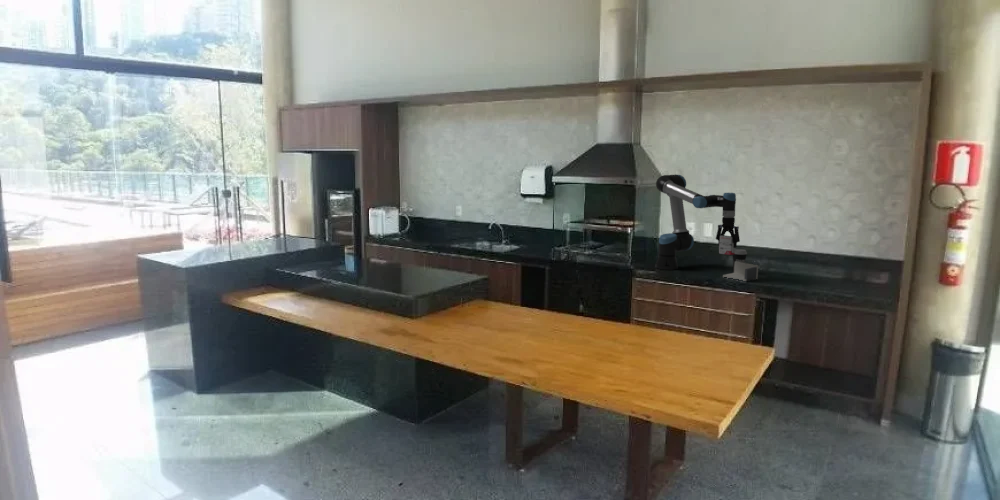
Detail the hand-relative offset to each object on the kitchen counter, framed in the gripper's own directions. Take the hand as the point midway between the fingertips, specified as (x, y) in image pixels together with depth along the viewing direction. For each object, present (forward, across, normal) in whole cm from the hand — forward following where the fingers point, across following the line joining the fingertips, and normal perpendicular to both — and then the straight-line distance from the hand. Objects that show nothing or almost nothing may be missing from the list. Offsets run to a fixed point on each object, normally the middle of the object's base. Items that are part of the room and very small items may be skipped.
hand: (727, 251), depth 375 cm
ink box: (+2, 0, 0) cm, 2 cm away
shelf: (+17, +8, +3) cm, 19 cm away
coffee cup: (+16, -3, +18) cm, 24 cm away
